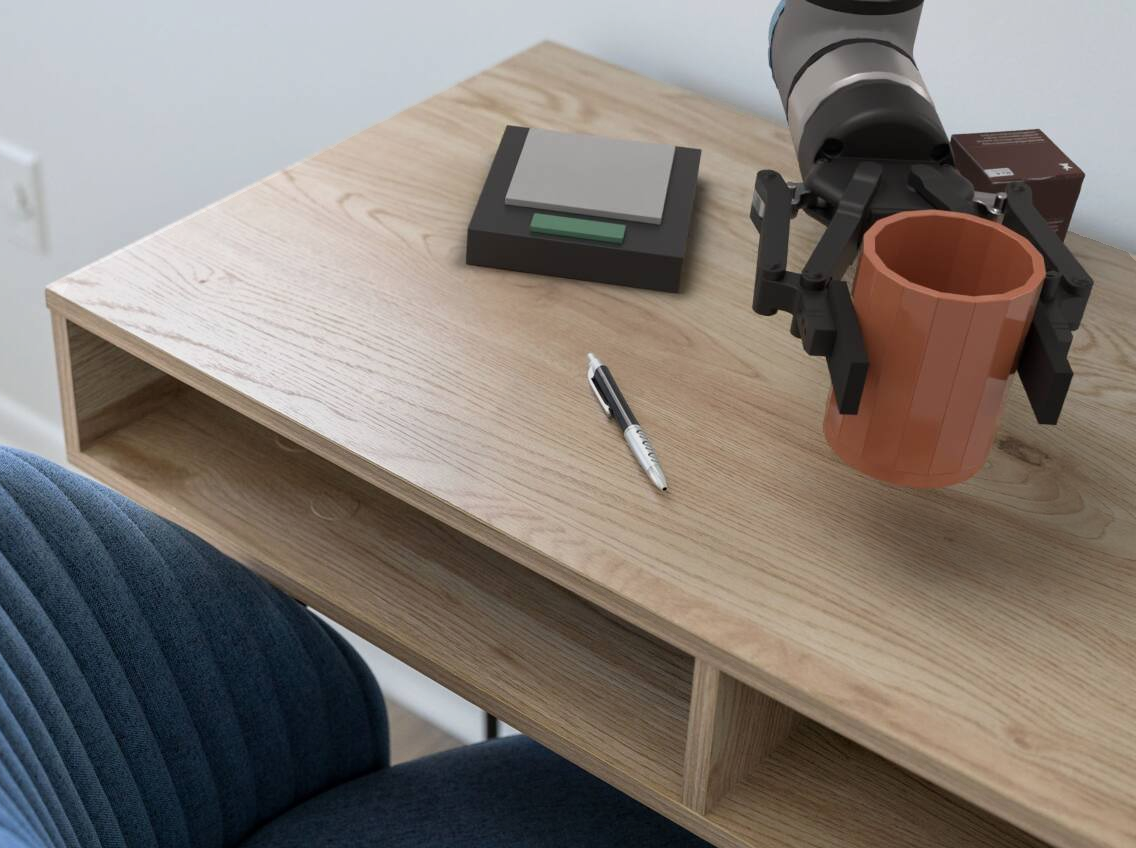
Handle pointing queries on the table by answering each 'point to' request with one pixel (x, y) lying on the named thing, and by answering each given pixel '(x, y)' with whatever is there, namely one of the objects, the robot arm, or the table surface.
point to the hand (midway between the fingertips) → (955, 393)
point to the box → (1022, 170)
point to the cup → (935, 345)
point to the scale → (586, 208)
